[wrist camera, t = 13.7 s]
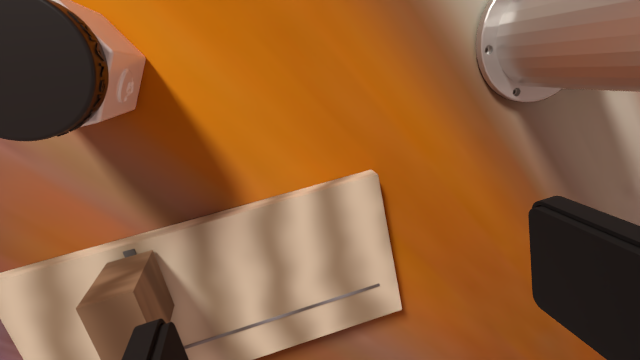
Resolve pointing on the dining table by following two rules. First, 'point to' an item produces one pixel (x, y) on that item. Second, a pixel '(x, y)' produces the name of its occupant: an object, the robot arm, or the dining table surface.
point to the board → (230, 276)
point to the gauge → (124, 302)
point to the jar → (62, 69)
